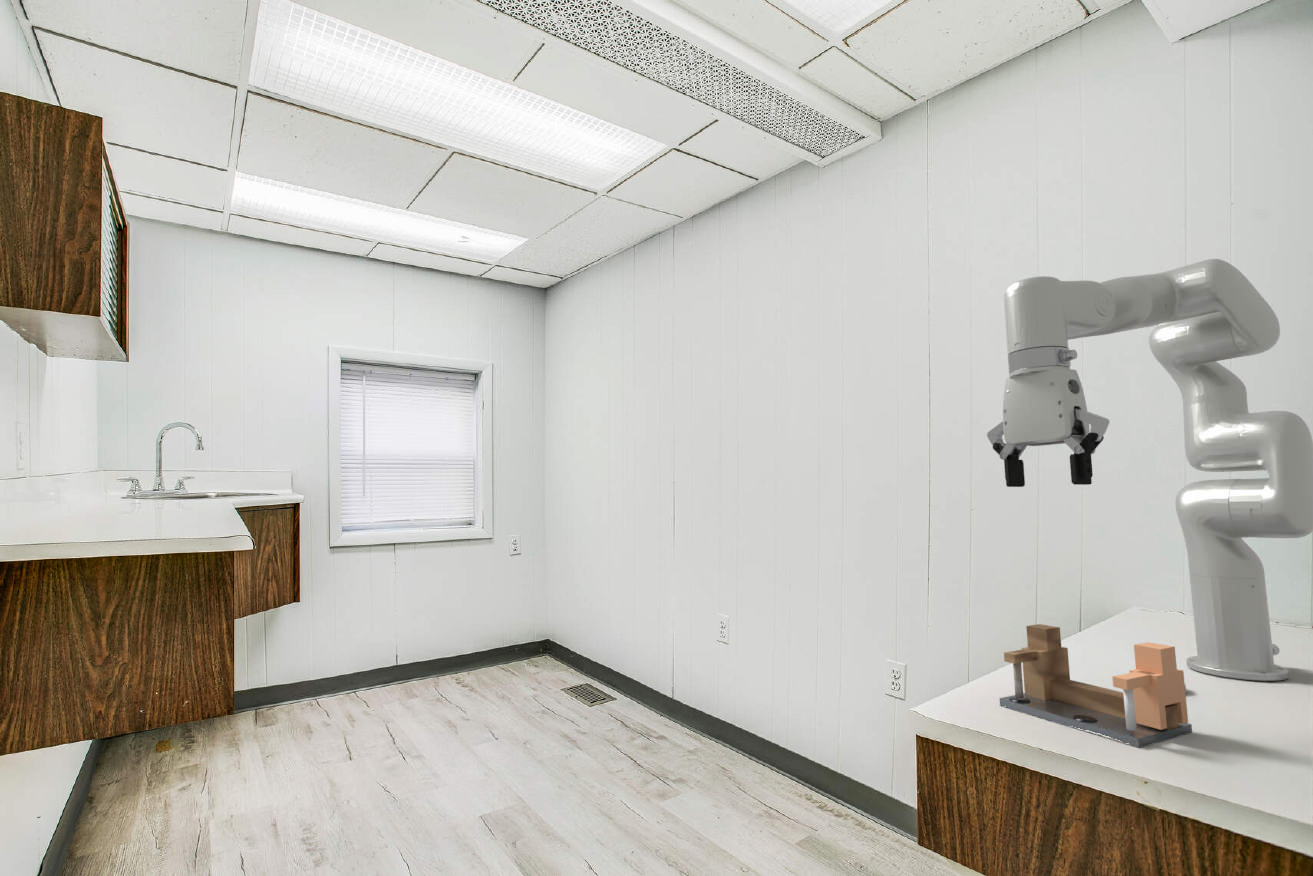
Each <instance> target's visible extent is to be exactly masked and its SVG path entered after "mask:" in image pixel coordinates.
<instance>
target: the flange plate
mask: <svg viewBox="0 0 1313 876" xmlns="http://www.w3.org/2000/svg"><path fill="white" fill-rule="evenodd" d="M1023 696H1024V698H1022V699H1020V698H1016V697H1015V694H1013V695H1008V696H1004V697H999V698H998V699H999V706H1000V705H1002V706H1001V707H1003V706H1006V707H1005V708H1007V707H1008V708H1007V709H1009V710H1013V711H1016V710H1017V712H1020V713H1024V714H1026V715H1028V716H1029V715H1030V716H1033V717H1036V718H1040V719H1044V720H1046V721H1049V722H1054V723H1056V724H1059V723H1060V724H1059V725H1062V724H1063V726H1067V727H1069V726H1073V727H1076V728H1080V729H1083V730H1089V731H1092V732H1095V733H1100V734H1102V735H1105V736H1109V737H1111V738H1113V739H1117V740H1120V741H1122V742H1124V743H1123V744H1125V743H1129V744H1130V745H1129V746H1131V745H1132V746H1131V747H1135V746H1136V747H1135V748H1139V749H1140V748H1144V747H1147V746H1150V745H1154V744H1157V743H1160V742H1165V741H1168V740H1171V739H1174V738H1178V737H1182V736H1187V735H1189V734H1192V733H1193V726H1192V724H1191V723H1189V722H1188V723H1185V724H1181V723H1178V724H1179V726H1178V727H1175V728H1171V729H1167V730H1166V729H1162V730H1160V729H1156V728H1153V727H1149V726H1145V725H1142V724H1138V723H1136V727H1137V730H1136V731H1132V730H1128V729H1126V718H1122V717H1118V716H1115V715H1111V714H1107V713H1104V712H1100V711H1096V710H1093V709H1089V708H1085V707H1082V706H1078V705H1074V704H1071V703H1067V702H1063V701H1060V700H1056V699H1048V700H1043V699H1039V698H1035V697H1032V696H1028V695H1025V692H1023Z"/></svg>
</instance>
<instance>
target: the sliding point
mask: <svg viewBox="0 0 1313 876" xmlns="http://www.w3.org/2000/svg"><path fill="white" fill-rule="evenodd" d="M1133 649H1134V650H1133V651H1134V660H1135V669H1131V670H1129V672H1128V673H1122V674H1119V675H1114V676H1111V677H1112V686H1113V687H1114V688H1117V689H1122V692H1123V694H1124V706H1125V718H1126V729H1128V730H1132V731H1136V730H1137V727H1136V723H1138V724H1142V725H1145V726H1149V727H1153V728H1156V729H1160V730H1162V729H1166V728H1167V723H1166V712H1165V706H1166V705H1170V704H1174V705H1177V713H1178V723H1181V724H1185V723H1189V718H1188V716H1189V715H1188V706H1187V705H1188V704H1187V696H1186V695H1187V692H1186V693H1185V684H1186V682H1185V675H1184V674H1185V673H1184V670H1183V669H1178V668H1177V666H1178V665H1177V658H1176V657H1177V656H1176V647H1175V646H1174V645H1168V644H1161V643H1155V642H1150V641H1147V642H1142V643H1136V644H1135V643H1134V644H1133Z"/></svg>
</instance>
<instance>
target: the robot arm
mask: <svg viewBox="0 0 1313 876" xmlns="http://www.w3.org/2000/svg"><path fill="white" fill-rule="evenodd" d="M1003 300H1004V301H1003V303H1004V318H1005V331H1006V333H1005V334H1006V347H1007V361H1008V363H1007V364H1008V378H1006V379H1005V383H1004V384H1005V385H1004V392H1003V401H1002V402H1003V403H1002V421H1001V422H1000V423H999V424H997V425H996V426H994V427H993V428H991V429H990V430H989V431H988V432H987V433H986V437H987V439H988V440H989V442H990V444H991V445H992V449H993V450H994V451H995V453H997V455H999V458H1000V459H1001V460H1003V464H1004V465H1003V466H1004V479H1005V484H1006V485H1005V486H1006V487H1008V488H1024V487H1025V486H1026V484H1025V483H1026V481H1025V479H1026V478H1025V465H1024V460H1023V459H1020V457H1021V455H1022V454H1023V453H1024V451H1025V450H1026V449H1027V446H1028V447H1040V446H1041V447H1043V446H1050V445H1062V444H1063V445H1065V444H1066V446H1068V448H1069V449H1071V450H1072V452H1073V453H1071V454H1070V456H1069V467H1070V481H1071V484H1073V485H1074V486H1075V485H1078V486H1079V485H1086V486H1088V485H1091V484H1092V482H1093V481H1092V477H1093V464H1092V455H1094V454H1095V453H1096V451H1097V448H1098V447H1099V445H1100V444H1101V443H1102V442H1103V441H1104V439H1105V437H1104V435H1105V434H1106V432H1107V430H1108V427H1109V425H1110V420H1109V419H1108V418H1107V417H1105V416H1102V415H1099V414H1095V413H1092V412H1090V411H1088V407H1087V402H1086V398H1085V397H1086V396H1085V392H1084V389H1083V386H1082V382H1081V379H1080V377H1079V373H1078V371H1077V370H1076V369H1071V366H1072V365H1071V362H1072V360H1076V359H1077V358H1078V353H1077V351H1076V350H1075V349H1070V348H1069V340H1076V339H1081V338H1088V337H1097V336H1098V337H1099V336H1106V335H1110V334H1116V333H1121V332H1127V331H1132V330H1137V329H1143V328H1152V327H1155V328H1154V329H1152V331H1151V332H1150V333H1149V334H1150V335H1149V337H1148V343H1149V349H1150V351H1151V353H1152V355H1153V357H1154V359H1156V361H1157V362H1158V363H1159V364H1160V365H1161V366H1162V367H1163V369H1164V370H1165V371H1166V372H1167V373H1168V374H1169V375H1170V377H1171V378H1172V379H1173V381H1174V382H1175V383H1176V385H1177V388H1178V389H1179V391H1180V394H1181V398H1182V407H1183V409H1182V410H1183V411H1182V412H1183V434H1184V436H1183V437H1184V449H1185V455H1186V460H1187V462H1188V463H1189V465H1190V466H1191V467H1192V468H1194V469H1195V470H1197V471H1198V470H1199V471H1202V472H1209V473H1210V472H1211V473H1213V472H1214V473H1223V472H1225V473H1226V472H1228V473H1230V472H1231V473H1232V472H1233V473H1234V472H1253V471H1254V472H1255V471H1258V472H1259V471H1266V472H1267V473H1268V477H1267V478H1227V479H1225V478H1224V479H1207V480H1199V481H1193V482H1191V483H1189V484H1187V485H1184V486H1183V487H1182V488H1181V489H1180V490H1179V491H1178V492H1177V493H1176V494H1177V495H1176V497H1175V502H1174V503H1175V504H1174V505H1175V509H1176V510H1175V511H1176V514H1177V519H1178V521H1179V524H1180V528H1181V530H1182V534H1183V537H1184V543H1185V547H1186V552H1187V560H1188V568H1189V569H1188V570H1189V580H1190V581H1189V582H1190V592H1191V593H1190V594H1191V602H1192V604H1191V605H1192V614H1193V622H1194V632H1195V633H1194V635H1195V642H1196V643H1195V644H1196V652H1197V653H1196V654H1197V655H1195V656H1190V657H1188V658H1186V666H1187V667H1188V668H1189V669H1192V670H1193V671H1197V672H1200V673H1204V674H1206V675H1213V676H1218V677H1224V678H1230V679H1235V680H1236V679H1238V680H1247V681H1259V682H1261V681H1262V682H1263V681H1264V682H1272V681H1273V682H1275V681H1283V680H1287V679H1288V678H1289V677H1290V675H1289V670H1288V669H1287V668H1285V667H1283V666H1282V665H1281V666H1280V665H1279V664H1275V659H1274V656H1276V655H1279V654H1280V652H1281V651H1280V647H1279V646H1278V645H1276V644H1274V643H1273V641H1272V632H1271V622H1270V615H1269V613H1270V612H1269V604H1268V596H1267V595H1268V594H1267V585H1266V577H1265V575H1266V573H1265V569H1264V565H1263V562H1262V560H1261V558H1260V557H1259V555H1258V554H1257V553H1256V552H1255V551H1254V550H1253V548H1251V546H1249V545H1248V543H1246V542H1245V540H1244V539H1243V538H1256V539H1257V538H1265V539H1267V538H1268V539H1298V538H1299V539H1300V538H1304V537H1307V536H1308V535H1310V534H1312V532H1313V438H1312V433H1311V431H1310V429H1309V427H1308V425H1307V423H1306V421H1305V420H1304V419H1303V418H1302V417H1300V415H1298V414H1296V413H1294V412H1291V411H1286V410H1271V411H1260V412H1259V411H1258V412H1249V408H1248V407H1249V406H1248V394H1247V391H1248V390H1247V387H1246V385H1245V383H1244V382H1243V381H1242V379H1240V378H1239V377H1238V376H1237V374H1235V373H1233V371H1231V370H1230V369H1228V368H1226V367H1225V366H1224V365H1222V364H1220V363H1219V361H1225V360H1231V359H1238V358H1242V357H1243V358H1244V357H1250V356H1255V355H1260V354H1261V353H1262V354H1263V353H1264V352H1267V351H1269V350H1270V349H1272V348H1273V347H1274V346H1275V345H1276V344H1277V342H1278V340H1279V338H1280V336H1281V327H1280V326H1281V325H1280V321H1279V319H1278V317H1277V314H1276V313H1275V311H1274V310H1273V308H1272V306H1271V305H1270V304H1269V302H1267V300H1266V299H1265V298H1264V297H1263V295H1261V293H1260V292H1259V290H1257V289H1256V288H1255V286H1254V285H1253V284H1252V282H1250V281H1249V279H1248V278H1247V277H1246V276H1245V275H1244V274H1243V272H1241V271H1240V270H1239V269H1238V268H1236V266H1234V265H1232V264H1231V263H1229V262H1228V261H1225V260H1223V259H1220V258H1210V259H1204V260H1201V261H1198V262H1196V263H1194V262H1193V263H1191V264H1187V265H1185V266H1182V267H1178V268H1174V269H1171V270H1166V271H1163V272H1158V273H1153V274H1152V273H1151V274H1143V275H1133V276H1132V275H1131V276H1121V277H1115V278H1111V279H1107V280H1104V281H1101V282H1100V281H1099V282H1098V281H1093V280H1060V279H1059V278H1056V277H1055V276H1054V277H1053V276H1044V275H1043V276H1034V277H1033V276H1032V277H1028V278H1024V279H1020V280H1018V281H1016V282H1013V283H1011V284H1009V286H1008V287H1007V288H1006V289H1005V291H1004V294H1003ZM1003 436H1004V439H1003ZM1004 440H1005V442H1006V443H1005V442H1004Z"/></svg>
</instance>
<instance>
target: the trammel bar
mask: <svg viewBox="0 0 1313 876" xmlns="http://www.w3.org/2000/svg"><path fill="white" fill-rule="evenodd" d="M1025 627H1026V641H1027V647H1021V649H1019V650H1018V649H1017V650H1011V651H1005V652H1003V659H1004V662H1006V663H1009V664H1012V666H1013V667H1012V668H1013V669H1012V670H1013V681H1014V695H1015V697H1016V698H1020V699H1022V698H1024V696H1023V693H1025V695H1028V696H1032V697H1035V698H1039V699H1043V700H1048V699H1056V700H1060V701H1063V702H1067V703H1071V704H1074V705H1078V706H1082V707H1085V708H1089V709H1093V710H1096V711H1100V712H1104V713H1107V714H1111V715H1115V716H1118V717H1122V718H1125V706H1124V694H1123V691H1119V690H1115V689H1110V688H1107V687H1103V686H1102V687H1101V686H1098V685H1094V684H1091V683H1085V682H1082V681H1081V682H1080V681H1077V680H1073V679H1071V676H1070V663H1069V650H1068V647H1066V646H1062V637H1061V628H1060V626H1053V625H1047V624H1043V623H1039V624H1031V625H1026V626H1025ZM1165 712H1166V723H1167V728H1166V730H1167V729H1171V728H1175V727H1178V726H1179V724H1178V713H1177V705H1174V704H1170V705H1166V706H1165Z"/></svg>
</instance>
